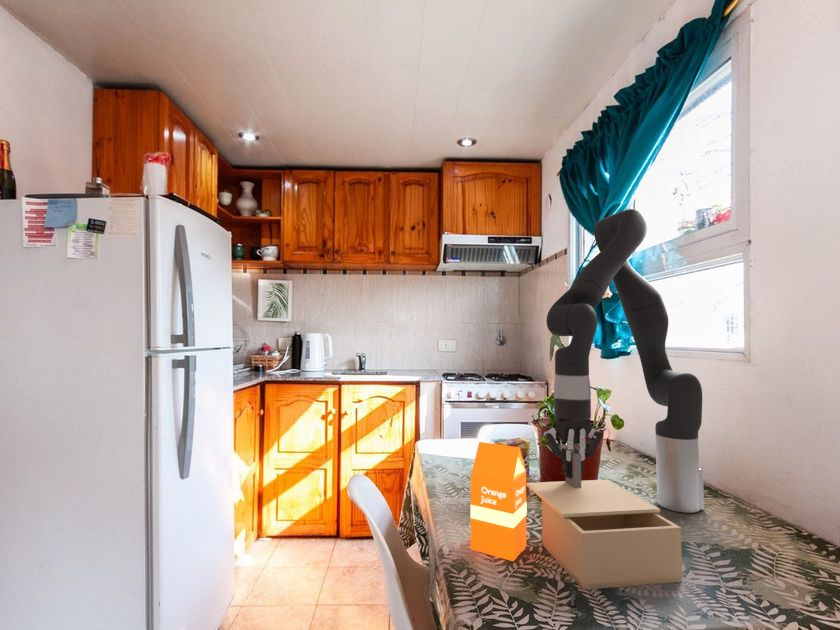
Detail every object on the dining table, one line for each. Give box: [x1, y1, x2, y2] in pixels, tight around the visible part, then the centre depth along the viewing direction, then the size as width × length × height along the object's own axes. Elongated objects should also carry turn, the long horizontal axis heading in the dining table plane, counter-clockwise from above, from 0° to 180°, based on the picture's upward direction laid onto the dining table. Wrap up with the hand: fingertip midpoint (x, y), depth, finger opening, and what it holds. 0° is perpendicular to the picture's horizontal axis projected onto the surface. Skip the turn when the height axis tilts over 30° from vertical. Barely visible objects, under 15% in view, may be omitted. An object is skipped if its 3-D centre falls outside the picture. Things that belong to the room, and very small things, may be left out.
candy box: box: [494, 437, 531, 502], centre depth 111 cm, size 9×4×15 cm, turn 123°
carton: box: [541, 499, 683, 590], centre depth 81 cm, size 18×16×9 cm
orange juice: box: [470, 441, 528, 562], centre depth 87 cm, size 8×9×20 cm
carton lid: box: [527, 449, 661, 517], centre depth 88 cm, size 19×17×8 cm
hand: (573, 477), depth 94 cm, fingers closed
